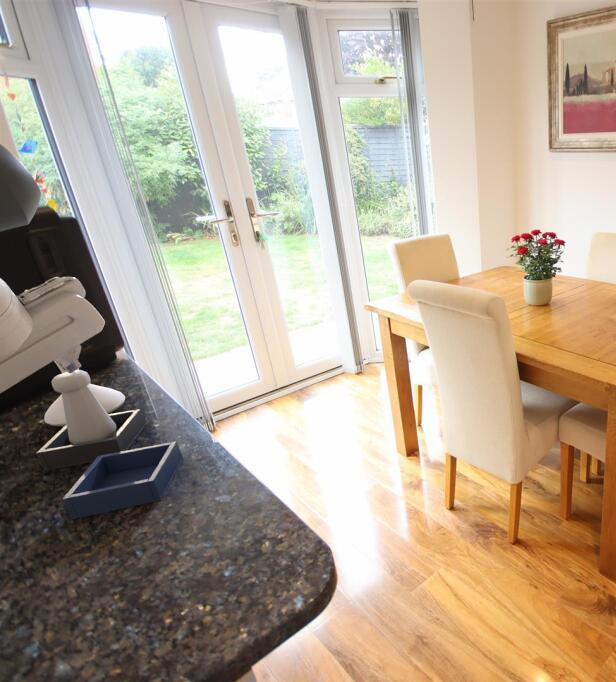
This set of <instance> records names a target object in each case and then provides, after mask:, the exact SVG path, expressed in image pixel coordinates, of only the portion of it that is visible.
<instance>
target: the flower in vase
mask: <svg viewBox="0 0 616 682" xmlns="http://www.w3.org/2000/svg"><path fill="white" fill-rule="evenodd" d="M33 288H34V287H32V288H31V289H33ZM28 290H29V289H25V290H24V292H26V291H28ZM24 292H23V293H24ZM58 358H59V357H58ZM55 360H56V359H55ZM55 360H54V361H53V362H54V363H55V365H57V367H58V369H59V370H60V372H61V374H62V373H65V372H67V371H66V370H63V369H62V368H60V367H59V365H58V364H57V363H56V362H55ZM77 370H80V368H78V369H77ZM87 387H88V388H89V389H90V391H91V392H92V393H93V395H94V396H95V397H96V399H97V400H98V401H99V403H100V404H101V405H102V407H103V408H104V409H105V411H106V412H107V413H108V414H112V413H113V412H115V411H116V410H118V409H119V408H121V407H122V406H123V404H124V403H125V400H126V396H125V395H124V394H123V393H122V392H121V391H119V390H116V389H114V388H109V387H106V386H102V385H101V386H100V385H96V384H93V383H90V384H89V385H87ZM43 420H44V422H45V423H46V424H48V425H50V426H53V427H64V426H65V425H66V418H65V412H64V405H63V399H62V393H61V394H60V396H58V397H57V398H56V400H54V401H53V402H52V404H51V405H50V406H49V407H48V409H47V411H45V413H44V419H43Z"/></svg>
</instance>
